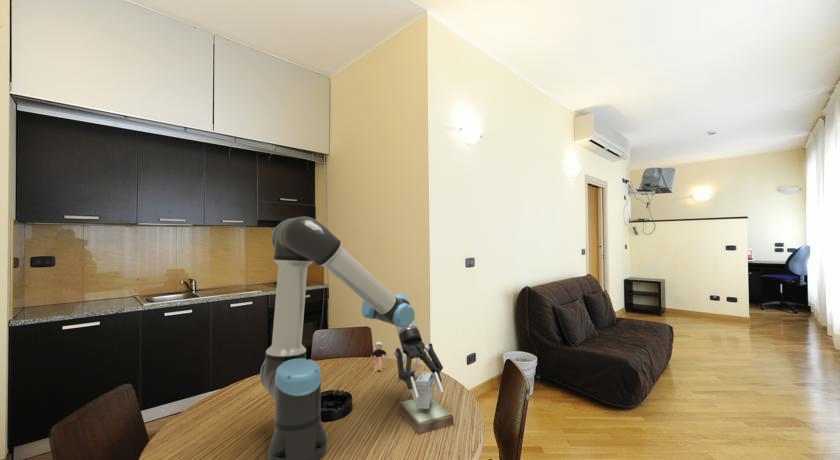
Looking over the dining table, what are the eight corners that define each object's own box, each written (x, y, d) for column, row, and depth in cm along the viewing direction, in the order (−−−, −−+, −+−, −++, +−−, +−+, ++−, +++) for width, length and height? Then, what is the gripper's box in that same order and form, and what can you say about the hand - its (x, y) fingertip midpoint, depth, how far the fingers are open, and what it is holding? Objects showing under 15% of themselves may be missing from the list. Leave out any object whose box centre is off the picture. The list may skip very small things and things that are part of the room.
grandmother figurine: (372, 373, 151) (372, 344, 152) (369, 370, 155) (369, 341, 155) (388, 370, 155) (388, 341, 156) (385, 367, 159) (385, 339, 159)
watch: (399, 376, 148) (399, 350, 148) (418, 376, 147) (418, 350, 148) (398, 381, 142) (398, 354, 143) (418, 381, 142) (417, 354, 142)
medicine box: (429, 409, 108) (428, 381, 109) (415, 408, 109) (414, 380, 110) (433, 398, 116) (432, 372, 116) (420, 397, 117) (419, 371, 117)
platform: (418, 433, 103) (418, 423, 103) (398, 410, 117) (398, 401, 117) (453, 424, 108) (453, 414, 108) (430, 403, 122) (430, 394, 122)
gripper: (431, 335, 132) (453, 395, 116) (378, 342, 123) (395, 408, 108) (437, 323, 127) (461, 384, 112) (383, 330, 118) (401, 397, 103)
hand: (428, 396), depth 110 cm, fingers closed on medicine box, 8 cm apart
